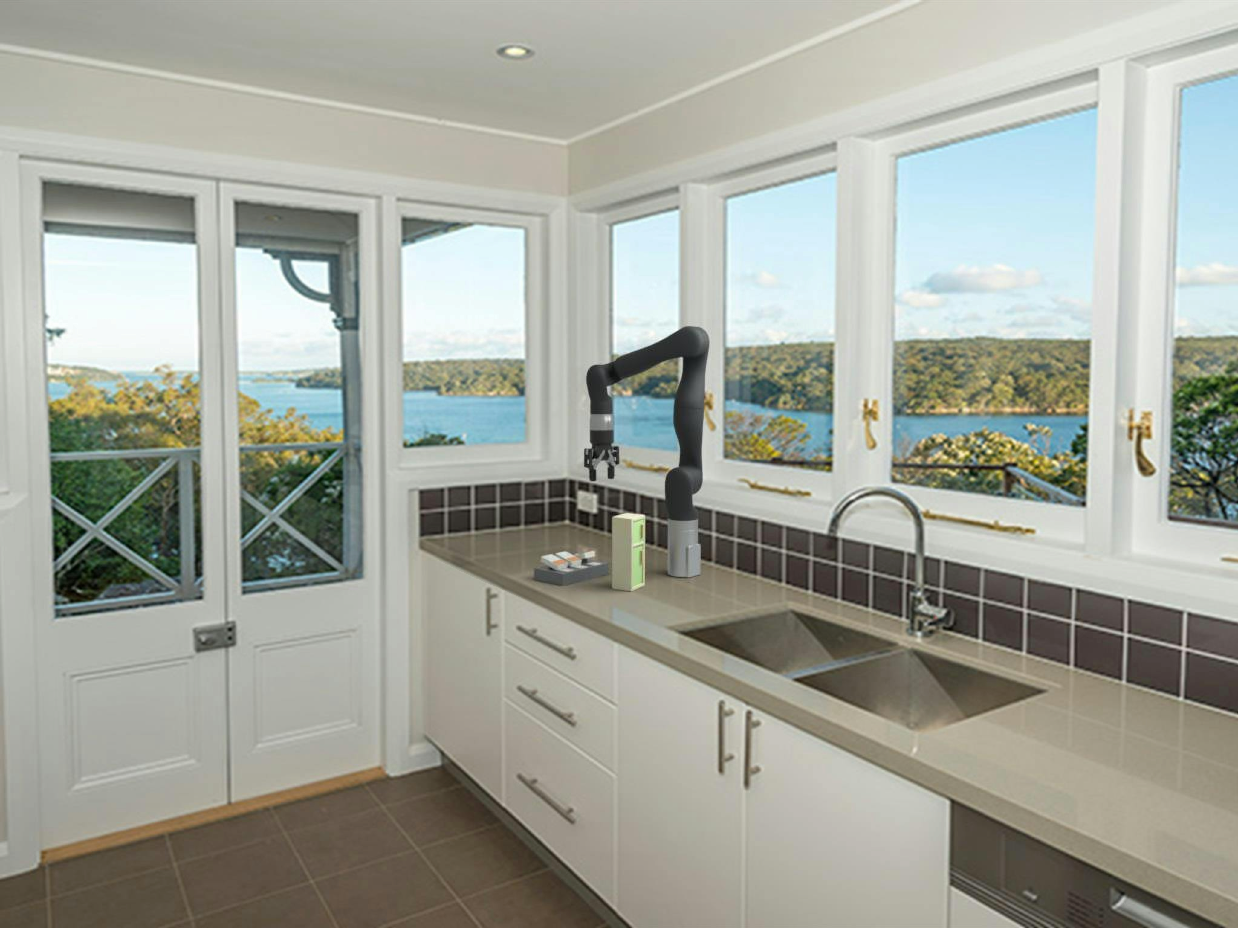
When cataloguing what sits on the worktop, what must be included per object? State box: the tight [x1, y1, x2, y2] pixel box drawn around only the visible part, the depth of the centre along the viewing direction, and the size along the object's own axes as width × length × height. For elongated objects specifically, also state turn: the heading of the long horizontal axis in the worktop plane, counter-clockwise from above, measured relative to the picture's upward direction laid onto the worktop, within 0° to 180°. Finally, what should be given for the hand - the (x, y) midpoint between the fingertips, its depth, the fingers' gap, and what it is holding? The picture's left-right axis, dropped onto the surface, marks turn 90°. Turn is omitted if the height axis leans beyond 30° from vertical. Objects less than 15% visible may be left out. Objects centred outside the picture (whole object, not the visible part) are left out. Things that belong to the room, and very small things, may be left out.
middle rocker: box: [554, 551, 582, 567], centre depth 284 cm, size 7×4×2 cm, turn 50°
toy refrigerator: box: [611, 512, 646, 592], centre depth 269 cm, size 8×7×21 cm
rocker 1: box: [540, 553, 568, 570], centre depth 280 cm, size 7×4×2 cm, turn 50°
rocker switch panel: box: [533, 558, 610, 587], centre depth 285 cm, size 12×24×4 cm, turn 139°
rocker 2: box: [573, 550, 596, 559], centre depth 289 cm, size 7×4×2 cm, turn 49°
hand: (602, 480), depth 296 cm, fingers open, 8 cm apart
